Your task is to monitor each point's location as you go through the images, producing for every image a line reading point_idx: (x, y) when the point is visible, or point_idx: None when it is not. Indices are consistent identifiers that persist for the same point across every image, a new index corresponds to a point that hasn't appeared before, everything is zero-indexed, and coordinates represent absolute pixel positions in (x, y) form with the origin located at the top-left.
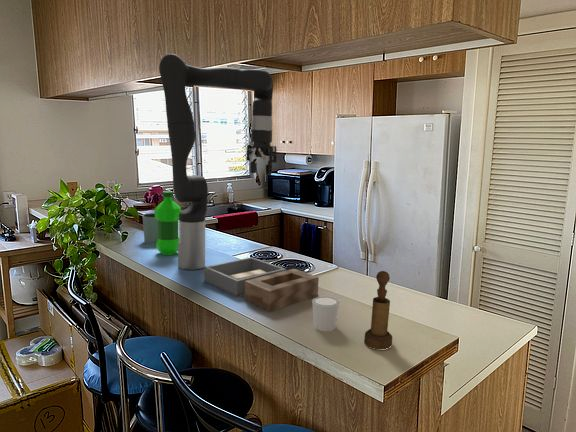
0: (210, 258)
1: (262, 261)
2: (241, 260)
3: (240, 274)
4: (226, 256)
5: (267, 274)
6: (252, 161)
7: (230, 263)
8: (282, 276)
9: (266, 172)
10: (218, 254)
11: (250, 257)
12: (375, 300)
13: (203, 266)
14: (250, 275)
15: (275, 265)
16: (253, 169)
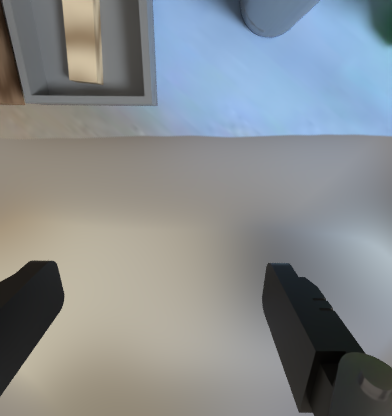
0: (294, 87)
1: (105, 99)
2: (142, 61)
3: (85, 9)
4: (280, 131)
5: (11, 36)
6: (330, 391)
7: (140, 18)
8: None
9: (21, 272)
10: (307, 126)
11: (151, 99)
12: None
13: (242, 15)
14: (66, 26)
15: (61, 102)
16: (276, 301)
